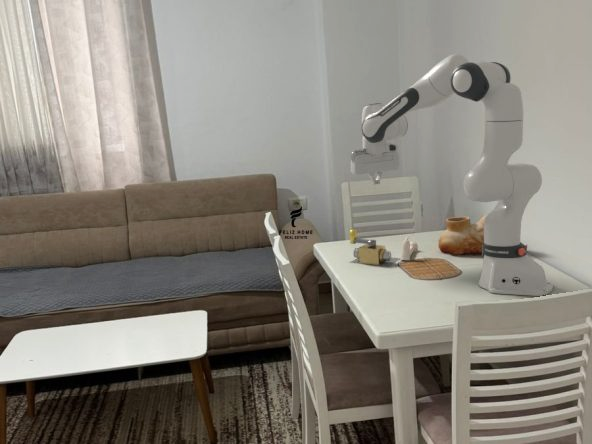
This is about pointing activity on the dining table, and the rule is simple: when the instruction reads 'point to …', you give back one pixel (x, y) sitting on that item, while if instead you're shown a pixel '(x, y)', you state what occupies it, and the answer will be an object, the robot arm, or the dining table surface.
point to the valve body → (372, 254)
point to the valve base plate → (380, 264)
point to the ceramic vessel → (462, 236)
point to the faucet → (408, 249)
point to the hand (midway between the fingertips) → (375, 184)
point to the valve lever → (361, 240)
